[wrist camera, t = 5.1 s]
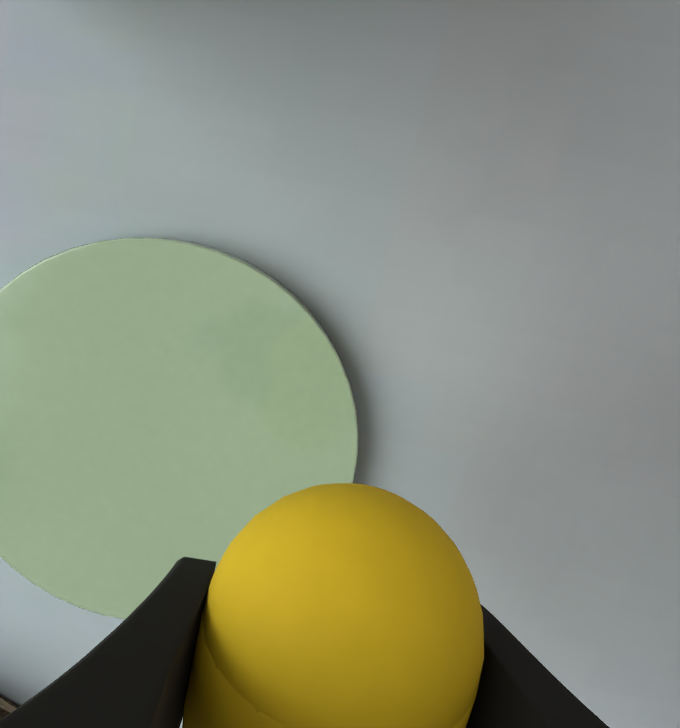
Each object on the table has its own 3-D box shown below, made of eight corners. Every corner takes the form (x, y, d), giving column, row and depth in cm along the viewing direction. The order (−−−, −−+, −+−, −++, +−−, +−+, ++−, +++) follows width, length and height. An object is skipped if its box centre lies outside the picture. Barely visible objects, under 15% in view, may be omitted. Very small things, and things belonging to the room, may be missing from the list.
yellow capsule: (393, 723, 13) (443, 992, 8) (190, 696, 12) (124, 968, 8) (469, 466, 11) (580, 619, 7) (244, 423, 11) (203, 559, 6)
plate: (313, 631, 21) (313, 647, 20) (-57, 577, 19) (-72, 592, 18) (396, 286, 18) (400, 289, 17) (-28, 193, 16) (-45, 192, 16)
